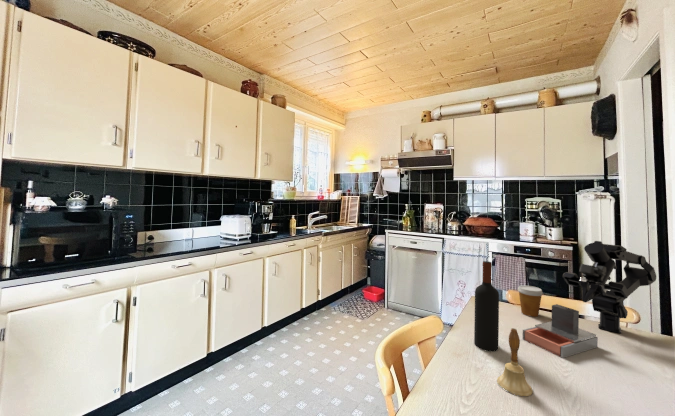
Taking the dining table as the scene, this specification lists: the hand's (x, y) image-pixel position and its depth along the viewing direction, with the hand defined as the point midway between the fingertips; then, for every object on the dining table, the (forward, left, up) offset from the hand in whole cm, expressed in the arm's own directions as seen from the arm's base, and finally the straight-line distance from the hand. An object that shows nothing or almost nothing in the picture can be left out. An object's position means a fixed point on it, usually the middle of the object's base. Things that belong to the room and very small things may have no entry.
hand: (583, 301), depth 103 cm
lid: (+10, -5, -10) cm, 15 cm away
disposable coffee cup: (-11, -19, -14) cm, 25 cm away
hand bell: (+52, -13, -14) cm, 55 cm away
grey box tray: (+13, -6, -13) cm, 20 cm away
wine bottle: (+34, -25, -14) cm, 44 cm away
